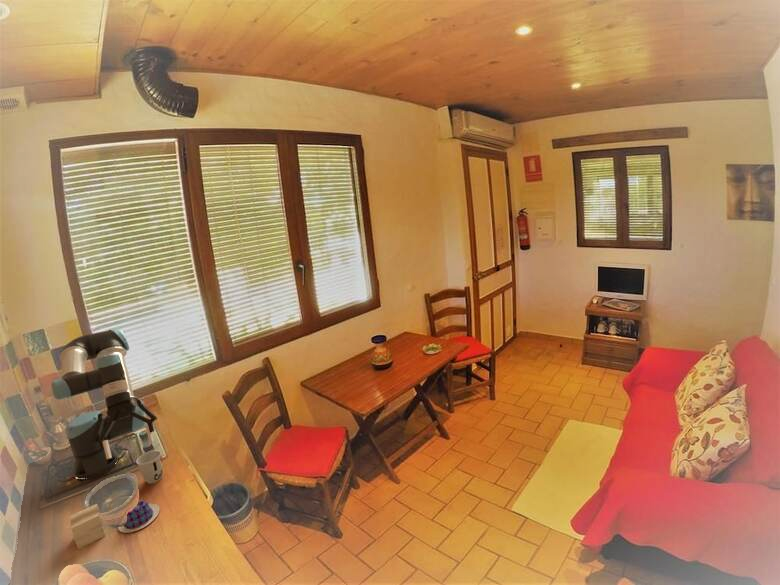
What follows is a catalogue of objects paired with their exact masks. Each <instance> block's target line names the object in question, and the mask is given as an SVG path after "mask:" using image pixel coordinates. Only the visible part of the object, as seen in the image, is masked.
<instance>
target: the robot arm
mask: <svg viewBox="0 0 780 585" xmlns="http://www.w3.org/2000/svg"><path fill="white" fill-rule="evenodd" d="M127 351H130V346H129V342H128V341H127V337H126V335H125V333H124V332H123V330H122V329H121V328H116V329H115V328H114V329H113V328H112V329H108V330H105V331H100V332H94V333H91V334H85V335H81V336H78V337H77V338H74V339H73V340H71V341H69V342H68V343H67V344H66V345H65V346H64V347H62V349H61V351H60V353H59V361H60V363H61V369H60V377H59V378H58V379H56V380H55V379H54V380H53V381H51V385H50V386H51V391H52V394H53V397H54V399H56V400H57V401H58V400H63V399H67V398H68V399H69V398H71V397H75V396H78V395H80V394H81V395H82V394H84V393H88V392H91V391H96V390H98V389H102V393H103V397H104V398H105V399H104V400H105V405H106V409H107V411H105V412H101V411H100V410H91V411H88V412H85V413H83V414H80V415H79V416H77V417H75V418H74V419H72V420H70V422H69V423H68V424H67V425H66V426H65V427H66V428H65V433H66V439H67V440H68V442H69V445H70V448H71V452H72V454H73V459H74V460H73V466H72V475H73V474H74V475H75V476H76V477H78V478H85V479H86V478H87V479H88V480H90V479H89V478H92V479H94V478H93V477H95V478H97V477H99V475H100V476H102V475H104V474H106V473H107V472H106V471H108V470H109V471H111V470H112V469H113V468H114V467H115V466H116V465H115V463H116V462H117V460H118V457H119V453H118V452H117V451H116V450H115V449H114V448H113V447H112V445H110V442H109V441H111V440H114V439H116V438H120V437H123V436H125V435H127V434H132V433H135V432H137V431H139V430H141V429H143V428H145V430H146V434H147V437H148V442H149V443H153V442H155V441H154V436H153V432H155V428H154V424H153V423H154V422H155V421H156V420H158V417H157V416H156V414H154V413H153V412H152V411H151V410H150V409H149V408H148V407H147V406H146V405H145V401H144V400H142V399H140V398H139V397H137V396H135V394H134V391H133V388H132V387H133V386H132V383H131V380H130V376H129V372H128V369H127V364H126V360H125V357H126V355H127ZM94 359H96V360H95V361H96V369H94V370H93V369H92V370H89V371H86V361H90V360H94ZM148 417H149V418H148ZM114 465H115V466H114ZM113 466H114V467H113ZM112 467H113V468H112ZM111 468H112V469H111ZM110 469H111V470H110ZM109 471H108V472H109ZM105 472H106V473H105ZM103 473H104V474H103ZM101 474H102V475H101ZM74 475H73V476H74ZM96 476H97V477H96Z"/></svg>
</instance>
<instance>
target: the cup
mask: <svg viewBox="0 0 780 585" xmlns="http://www.w3.org/2000/svg"><path fill="white" fill-rule="evenodd" d="M136 465H137V467H138V471H139V472H140V475H141V476H142V477H143V479H144V481H145V482H146V483H147V484H156V483H157V482H159V481H160V480H161V479H162V478H163V472H164V470H163V469H164V468H163V458H162V452H161V451H160V450H157V449H155V450H150V451H147V452H144V453H143V454H141V455H140V456H138V457H137V459H136Z"/></svg>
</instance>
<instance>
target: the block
mask: <svg viewBox="0 0 780 585" xmlns="http://www.w3.org/2000/svg"><path fill="white" fill-rule="evenodd" d="M99 513H100V509H99V506H98V504H97V503H95V504H93V505H90V506H89V507H87V508H85V509H82V510H80V511H78V512H75V513H73V514H72V515H69V520H70V528H71V529H70V530H71V532H72V536H73V538H74V541H75V544H76V547H77V550H80V549H81V548H83V547H85V546H87V545H89V544H92V543H93V542H95V541H97V540H99V539H101V538H103V537H106V532H105V525H104V521H103V519H101V518H102V517H101V518H100V515H101V513H100V515H99Z"/></svg>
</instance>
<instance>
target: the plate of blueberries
mask: <svg viewBox="0 0 780 585" xmlns="http://www.w3.org/2000/svg"><path fill="white" fill-rule="evenodd" d="M137 502H138V504H137V506H136V507H135V508H134V509H133V510H132V511H130V512H128V514H127V522H126V524H125V525H126V526H125V527H124V526H123V527H118V526H117V530H118V531H119V532H121V533H124V534H125V533H127V534H128V533H129V534H130V533H133V532H137V531H139V530H141V529H143V528H145V527H146V526H148V525H150V523H152V522H153V521H154V520H155V519H156V518H157V516H158V515H159V513H160V507H159V505H158V504H156V503H148V502H147V501H146V500H145V501H144V500H139V501H137Z"/></svg>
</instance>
